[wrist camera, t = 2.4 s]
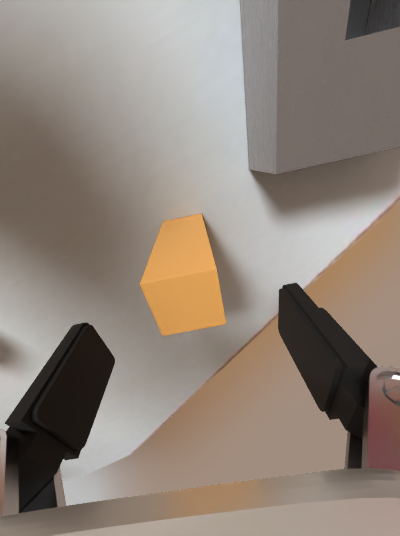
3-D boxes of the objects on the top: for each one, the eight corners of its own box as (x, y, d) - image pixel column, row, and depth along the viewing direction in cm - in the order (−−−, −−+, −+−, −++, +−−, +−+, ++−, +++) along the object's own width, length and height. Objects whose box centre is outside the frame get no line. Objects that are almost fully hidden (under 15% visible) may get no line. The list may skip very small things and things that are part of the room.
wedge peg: (162, 221, 19) (139, 284, 10) (201, 213, 19) (216, 268, 9) (173, 256, 21) (162, 335, 12) (208, 248, 21) (226, 324, 11)
